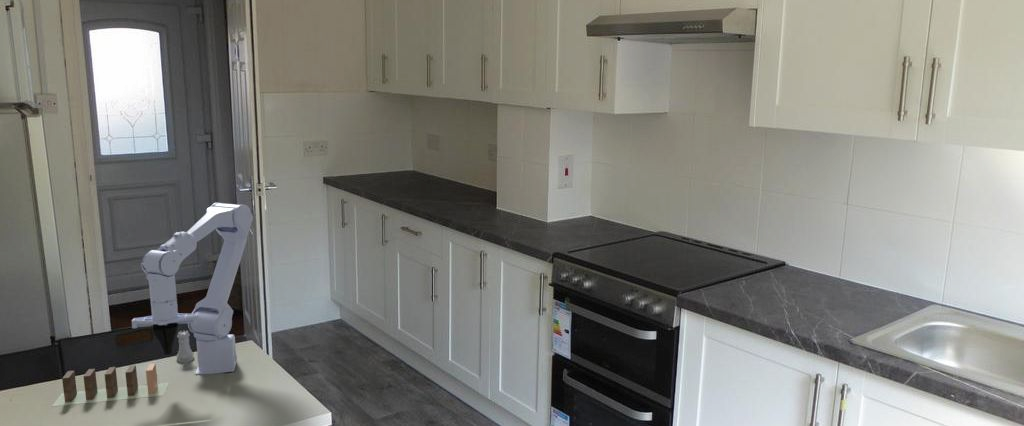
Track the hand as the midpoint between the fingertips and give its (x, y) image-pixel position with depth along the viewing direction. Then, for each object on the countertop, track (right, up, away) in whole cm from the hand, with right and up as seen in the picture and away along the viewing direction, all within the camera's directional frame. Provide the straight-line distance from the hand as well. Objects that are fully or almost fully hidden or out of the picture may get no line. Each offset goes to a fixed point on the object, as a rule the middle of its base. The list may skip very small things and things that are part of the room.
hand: (168, 353), depth 184 cm
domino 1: (-21, -10, -4) cm, 24 cm away
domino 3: (-13, -10, -2) cm, 16 cm away
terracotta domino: (-4, -9, +1) cm, 10 cm away
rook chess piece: (-5, -6, +20) cm, 22 cm away
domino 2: (-17, -10, -3) cm, 20 cm away
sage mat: (-13, -10, -2) cm, 16 cm away
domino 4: (-8, -9, 0) cm, 13 cm away
